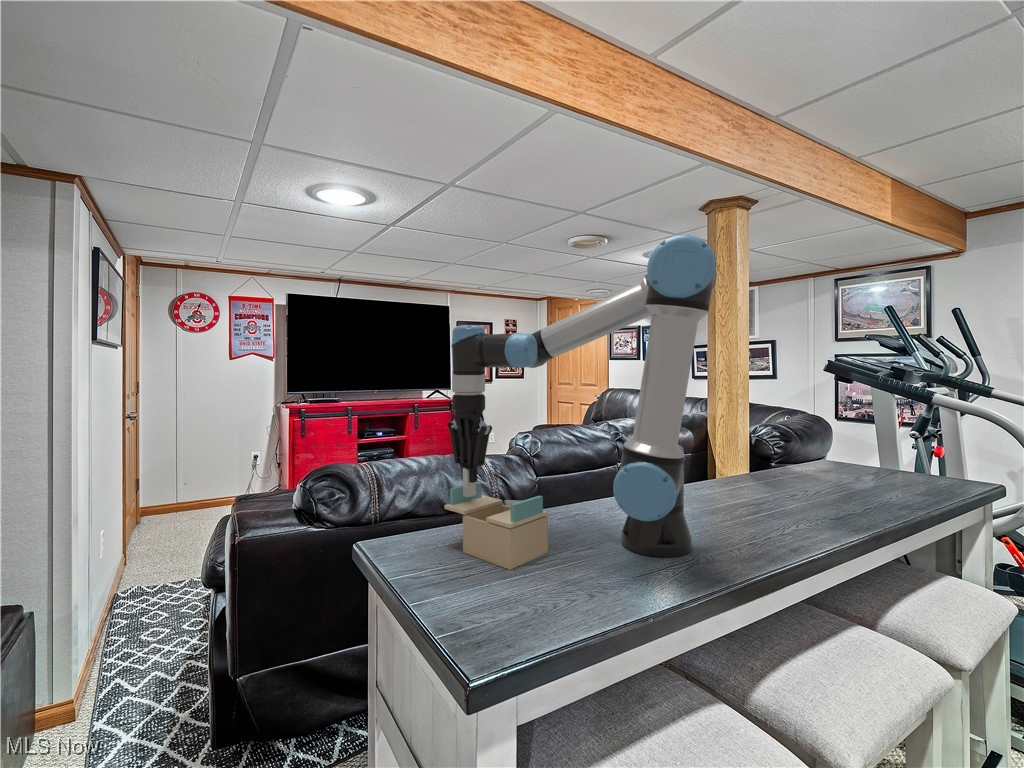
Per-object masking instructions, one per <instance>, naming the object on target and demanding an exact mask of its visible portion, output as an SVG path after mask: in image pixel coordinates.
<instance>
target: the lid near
mask: <svg viewBox="0 0 1024 768" xmlns="http://www.w3.org/2000/svg"><path fill="white" fill-rule="evenodd" d="M519 501H520V502H516V503H513V504H511V510H508V511H505V512H502V513H499V514H495V515H492V516H489V517H486V521H487V522H490V523H494V524H497V525H501V526H504V527H507V528H513V527H516V526H518V525H521V524H524V523H527V522H530V521H532V520H535V519H538V518H541V517H544V516H548V514H549V512H548V511H547V510H544V503H543V502H544V496H542V495H536V496H533V497H530V498H527V499H522V500H519Z"/></svg>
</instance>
